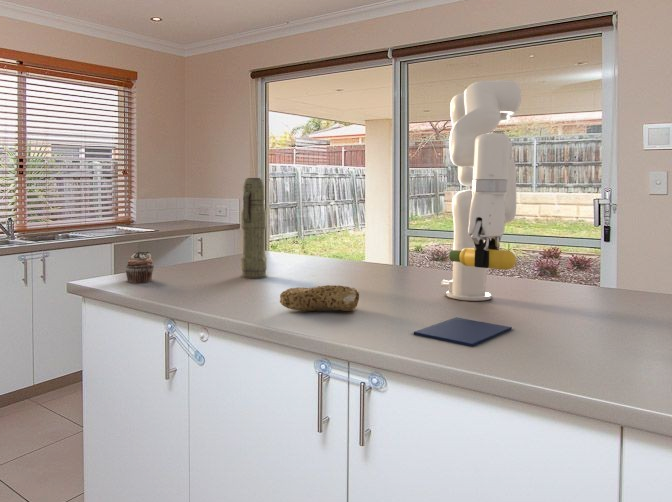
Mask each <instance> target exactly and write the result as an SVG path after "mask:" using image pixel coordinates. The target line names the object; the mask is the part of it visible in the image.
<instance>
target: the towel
mask: <svg viewBox="0 0 672 502" xmlns="http://www.w3.org/2000/svg"><path fill="white" fill-rule="evenodd" d="M512 329H513V327H512V326H508V325H504V324H503V325H501V324H496V323H491V322H484V321H479V320H474V319H468V318H462V317H453V318H451V319H448V320H445V321H442V322H439V323H436V324H433V325H430V326H427V327H424V328H421V329H418V330H415V331H413V335H414V336H420V337H423V338H430V339H434V340H438V341H443V342H448V343H453V344H457V345H458V344H459V345H463V346H468V347H474V346H477V345H480V344H482V343H484V342H486V341H488V340H491V339H493V338H495V337H497V336H500V335H503V334H505V333H507V332H509V331H512Z"/></svg>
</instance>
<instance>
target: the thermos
mask: <svg viewBox="0 0 672 502" xmlns="http://www.w3.org/2000/svg"><path fill="white" fill-rule="evenodd" d="M264 183H265V182H264V180H263V179H262V178H261V177H247V178H244V181H243V185H242V202H243V204H242V210H241V215H240V216H241V218H240V219H241V224H240V225H241V229H242V256H241V261H240V262H241V277H242V278H243V279H264V278H267V266H268V264H267V263H268V262H267V255H266V229H267V211H266V207H265V205H266V204H265V198H266V197H265V193H266V192H265V191H266V189H265V188H266V187H265V184H264Z"/></svg>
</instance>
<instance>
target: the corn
mask: <svg viewBox="0 0 672 502" xmlns="http://www.w3.org/2000/svg"><path fill="white" fill-rule="evenodd" d="M487 251H489V267H488V268H487V269H493V270H502V271H503V270H504V271H508V270H511V269H513V268H514V267H515V266H516V264H517V256H516V255H515V254H514V253H513V252H512V251H510V250H502V249H499V250H491V249H488V250H487ZM448 257H449V261H450V262H453V261H455V262H461V263H462V264H463V265H465V266H472V267H475V266H474V263H475V249H474V248H465V249H463V250H462V251H461V250H454V249H451V250H450V251H449V255H448Z"/></svg>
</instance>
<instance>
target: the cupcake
mask: <svg viewBox="0 0 672 502" xmlns="http://www.w3.org/2000/svg"><path fill="white" fill-rule="evenodd" d="M151 257H152V255H151V253H150V252H149V251H138V252H136V251H134V252H133V254H132V255H131V256H130V258H129V259H128V260H127V265H126V266H125V267H124V270H125V275H126V279H127V282H128V283H131V284H144V283H149V282H152V278H153V272H154V268H155V265H154V260H153V259H152V258H151Z"/></svg>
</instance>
